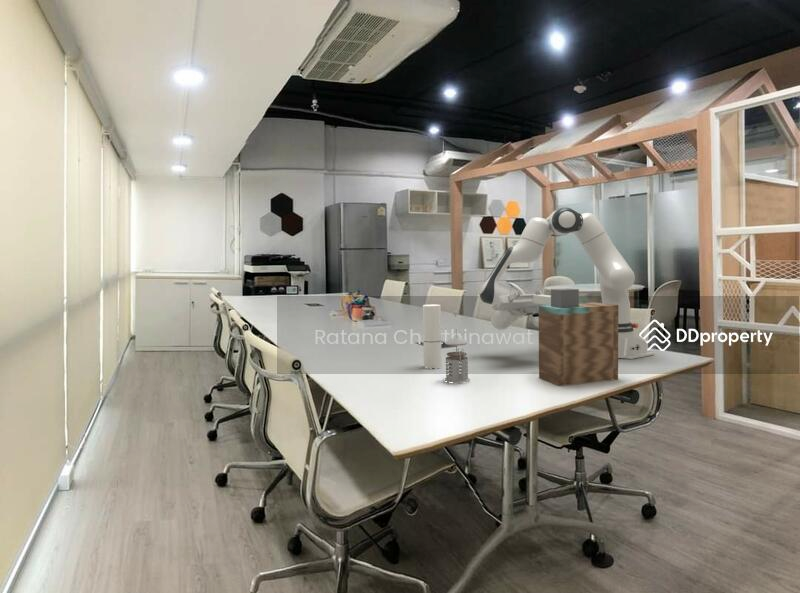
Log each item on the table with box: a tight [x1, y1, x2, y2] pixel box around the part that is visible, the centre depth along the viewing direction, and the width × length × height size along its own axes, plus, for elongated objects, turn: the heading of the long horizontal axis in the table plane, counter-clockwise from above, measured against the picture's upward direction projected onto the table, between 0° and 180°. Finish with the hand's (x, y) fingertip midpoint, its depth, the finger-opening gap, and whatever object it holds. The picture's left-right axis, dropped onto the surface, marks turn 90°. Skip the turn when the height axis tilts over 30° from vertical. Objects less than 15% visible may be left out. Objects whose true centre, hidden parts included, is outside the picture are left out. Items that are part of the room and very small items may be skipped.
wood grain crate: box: [538, 301, 619, 387], centre depth 185 cm, size 24×12×26 cm, turn 107°
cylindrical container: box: [422, 303, 443, 369], centre depth 211 cm, size 7×7×25 cm
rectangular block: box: [533, 288, 580, 308], centre depth 188 cm, size 7×20×6 cm, turn 17°
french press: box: [444, 310, 471, 384], centre depth 187 cm, size 10×12×25 cm
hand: (529, 293), depth 203 cm, fingers open, 8 cm apart
